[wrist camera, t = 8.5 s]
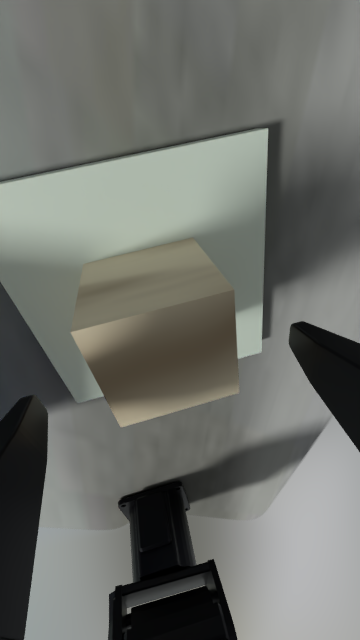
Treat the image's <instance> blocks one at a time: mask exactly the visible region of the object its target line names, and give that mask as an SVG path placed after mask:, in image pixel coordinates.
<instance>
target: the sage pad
mask: <svg viewBox="0 0 360 640" xmlns="http://www.w3.org/2000/svg"><path fill="white" fill-rule="evenodd" d="M267 152H268V128H259V129H252V130H247V131H243V132H238V133H233V134H228V135H223V136H218V137H214V138H209V139H204V140H199V141H194V142H190V143H185V144H180V145H175V146H170V147H166V148H161V149H156V150H151V151H146V152H141V153H137V154H132V155H127V156H122V157H117V158H113V159H108V160H103V161H98V162H93V163H89V164H84V165H79V166H74V167H69V168H64V169H60V170H55V171H50V172H45V173H40V174H36V175H31V176H26V177H21V178H16V179H12V180H7V181H2V182H0V282H1V283H2V285H3V287H4V288H5V290H6V291H7V293H8V295H9V296H10V298H11V299H12V301H13V302H14V304H15V306H16V307H17V309H18V310H19V312H20V314H21V315H22V317H23V318H24V320H25V321H26V323H27V325H28V326H29V328H30V329H31V331H32V332H33V334H34V336H35V337H36V339H37V340H38V342H39V344H40V345H41V347H42V348H43V350H44V351H45V353H46V355H47V356H48V358H49V359H50V361H51V363H52V364H53V366H54V367H55V369H56V370H57V372H58V374H59V375H60V377H61V378H62V380H63V382H64V383H65V385H66V386H67V388H68V389H69V391H70V393H71V394H72V396H73V397H74V399H75V400H76V402H77V403H81V402H85V401H88V400H92V399H95V398H99V397H103V396H104V395H103V393H102V391H101V389H100V387H99V385H98V383H97V382H96V380H95V378H94V376H93V374H92V372H91V370H90V368H89V366H88V365H87V363H86V361H85V359H84V357H83V355H82V353H81V351H80V349H79V348H78V346H77V344H76V342H75V340H74V338H73V336H72V334H71V326H72V321H73V316H74V310H75V305H76V300H77V294H78V289H79V284H80V278H81V273H82V268H83V264H86V263H90V262H94V261H98V260H102V259H106V258H110V257H114V256H119V255H123V254H127V253H131V252H135V251H139V250H143V249H147V248H152V247H156V246H160V245H164V244H168V243H172V242H176V241H181V240H185V239H189V238H194V240H195V241H196V242H197V243H198V245H199V246H200V247H201V248H202V250H203V251H204V252H205V253H206V255H207V256H208V257H209V258H210V260H211V261H212V262H213V263H214V265H215V266H216V267H217V268H218V270H219V271H220V272H221V273H222V275H223V276H224V277H225V278H226V280H227V281H228V282H229V283H230V285H231V286H232V287H233V289H234V293H235V314H236V334H237V354H238V359H239V358H243V357H246V356H250V355H253V354H257V353H260V352H261V350H262V317H263V284H264V251H265V218H266V185H267Z"/></svg>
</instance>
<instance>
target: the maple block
mask: <svg viewBox="0 0 360 640" xmlns="http://www.w3.org/2000/svg"><path fill="white" fill-rule="evenodd" d="M71 334H72V336H73V338H74V340H75V342H76V344H77V346H78V348H79V349H80V351H81V353H82V355H83V357H84V359H85V361H86V363H87V365H88V366H89V368H90V370H91V372H92V374H93V376H94V378H95V380H96V382H97V383H98V385H99V387H100V389H101V391H102V393H103V395H104V397H105V399H106V400H107V402H108V404H109V406H110V408H111V410H112V412H113V414H114V416H115V417H116V419H117V421H118V423H119V425H120V427H124V426H128V425H131V424H135V423H138V422H142V421H145V420H148V419H152V418H155V417H159V416H162V415H166V414H169V413H172V412H176V411H179V410H183V409H186V408H189V407H193V406H196V405H200V404H203V403H207V402H210V401H213V400H217V399H220V398H224V397H227V396H230V395H234V394H237V393H239V375H238V354H237V334H236V314H235V293H234V289H233V287H232V286H231V285H230V283H229V282H228V281H227V280H226V278H225V277H224V276H223V275H222V273H221V272H220V271H219V270H218V268H217V267H216V266H215V265H214V263H213V262H212V261H211V260H210V258H209V257H208V256H207V255H206V253H205V252H204V251H203V250H202V248H201V247H200V246H199V245H198V243H197V242H196V241H195V240H194V238H189V239H185V240H181V241H176V242H172V243H168V244H164V245H160V246H156V247H152V248H147V249H143V250H139V251H135V252H131V253H127V254H123V255H119V256H114V257H110V258H106V259H102V260H98V261H94V262H90V263H86V264H83V268H82V273H81V278H80V284H79V289H78V294H77V300H76V305H75V310H74V316H73V321H72V326H71Z"/></svg>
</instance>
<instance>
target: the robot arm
mask: <svg viewBox="0 0 360 640" xmlns="http://www.w3.org/2000/svg"><path fill="white" fill-rule="evenodd" d="M289 345H290V348H291V350H292V351H293V353H294V355H295V357H296V359H297V360H298V362H299V364H300V366H301V367H302V369H303V371H304V373H305V375H306V376H307V378H308V380H309V381H310V383H311V384H312V386H313V387H314V389H315V390H316V392H317V393H318V394H319V396H320V397H321V399H322V400H323V401H324V403H325V404H326V406H327V407H328V408H329V410H330V411H331V413H332V414H333V415H334V417H335V418H336V419H337V421H338V422H339V424H340V425H341V426H342V428H343V429H344V431H345V432H346V433H347V435H348V436H349V438H350V439H351V440H352V442H353V443H354V445H355V446H356V447H357V449H358V450H359V452H360V343H357V342H355V341H352V340H350V339H347V338H345V337H342V336H339V335H337V334H334V333H332V332H329V331H327V330H324V329H322V328H319V327H317V326H314V325H312V324H309V323H306V322H303V321H301V322H297V323H293V324H292V325H291V327H290V334H289ZM47 443H48V413H47V410H46V408H45V407H44V405H43V404H42V403H41V401H40V400H39V399H38V397H37V396H35V395H29V396H26V397H22V398H21V399H19V400H18V402H17V403H16V404H15V405H14V406H13V407H12V409H11V410H10V411H9V412H8V413H7V414H6V416H5V417H4V418H3V419H2V420H1V421H0V640H24V635H25V627H26V620H27V612H28V604H29V596H30V588H31V581H32V573H33V565H34V558H35V550H36V542H37V535H38V527H39V519H40V512H41V504H42V496H43V489H44V481H45V473H46V465H47ZM118 507H119V509H120V510H121V511H122V512H123V514H124V515H125V516H126V518H127V519H128V520H129V521H130V536H131V554H132V573H133V583H131V584H127V585H124V586H122V585H119V586H116V588H115V591H114V592H112V593H111V594H109V634H108V640H237V636H236V632H235V628H234V624H233V620H232V617H231V614H230V610H229V607H228V604H227V601H226V597H225V594H224V591H223V588H222V584H221V581H220V578H219V575H218V571H217V568H216V565H215V562H214V559H212V560H208V562H206V563H203V564H199V565H196V561H195V556H194V551H193V546H192V541H191V536H190V531H189V526H188V521H187V516H186V511H188V510H190V505H189V502H188V499H187V496H186V493H185V490H184V488H183V485H182V483H181V482H176V483H173V484H170V485H166V486H163V487H160V488H157V489H154V490H150V491H147V492H144V493H141V494H138V495H134V496H131V497H128V498H125V499H122V500H120V501H119V502H118ZM203 585H205V586H203ZM200 586H203V587H200ZM196 587H200V588H197V589H193V588H196ZM190 589H193V590H190ZM186 590H190V591H186ZM183 591H186V592H183ZM179 592H183V593H180V594H176V593H179ZM173 594H176V595H173ZM169 595H173V596H170V597H166V596H169ZM163 597H166V598H163ZM159 598H163V599H160V600H157V601H153V602H150V603H146V602H149V601H152V600H156V599H159ZM142 603H146V604H143V605H139V604H142ZM136 605H139V606H136ZM132 606H136V607H133V608H132V609H131V613H130V614H127V608H129V607H132Z"/></svg>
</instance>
